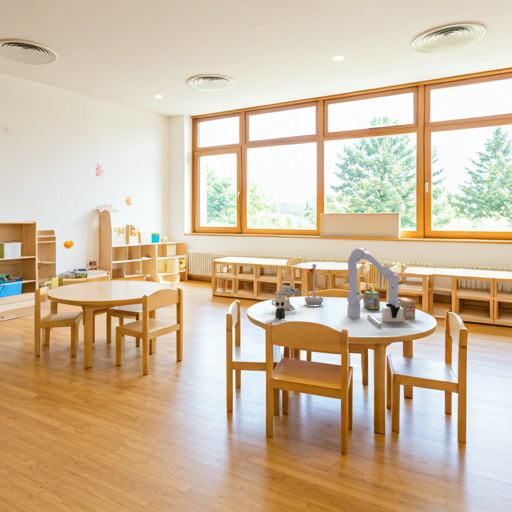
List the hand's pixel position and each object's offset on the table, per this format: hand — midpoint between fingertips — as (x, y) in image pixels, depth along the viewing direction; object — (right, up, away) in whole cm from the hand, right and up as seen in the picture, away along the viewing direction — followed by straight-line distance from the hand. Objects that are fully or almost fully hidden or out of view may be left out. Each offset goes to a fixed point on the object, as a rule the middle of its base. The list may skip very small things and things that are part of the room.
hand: (392, 316), depth 243 cm
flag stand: (-39, +1, +53) cm, 66 cm away
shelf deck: (-3, -4, -4) cm, 6 cm away
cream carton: (0, -2, 0) cm, 2 cm away
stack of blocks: (+11, -3, +16) cm, 19 cm away
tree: (-59, -1, +39) cm, 71 cm away
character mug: (-66, -3, +14) cm, 68 cm away
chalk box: (-1, -1, +40) cm, 40 cm away
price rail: (-12, -3, -4) cm, 13 cm away
